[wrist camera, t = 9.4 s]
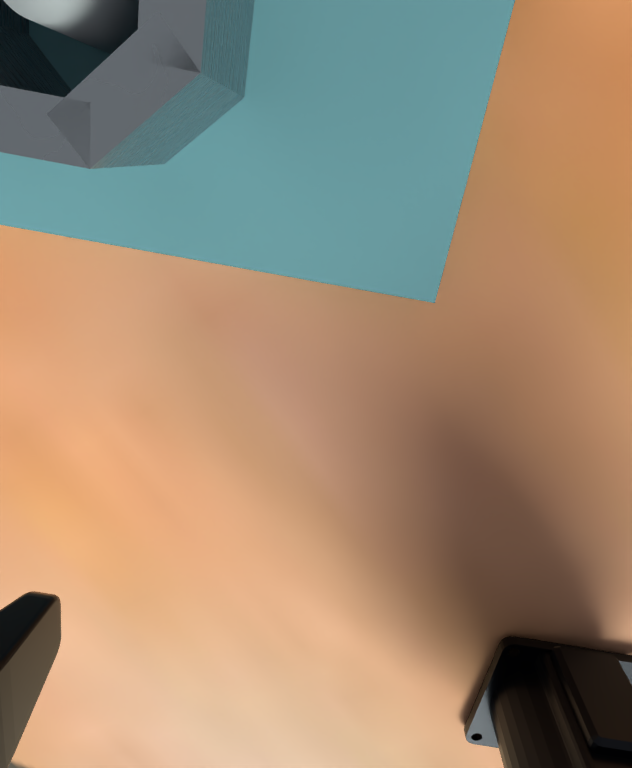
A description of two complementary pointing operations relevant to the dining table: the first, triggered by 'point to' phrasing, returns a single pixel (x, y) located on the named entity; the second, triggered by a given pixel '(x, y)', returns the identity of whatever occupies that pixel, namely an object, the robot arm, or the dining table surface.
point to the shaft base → (290, 143)
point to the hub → (127, 87)
